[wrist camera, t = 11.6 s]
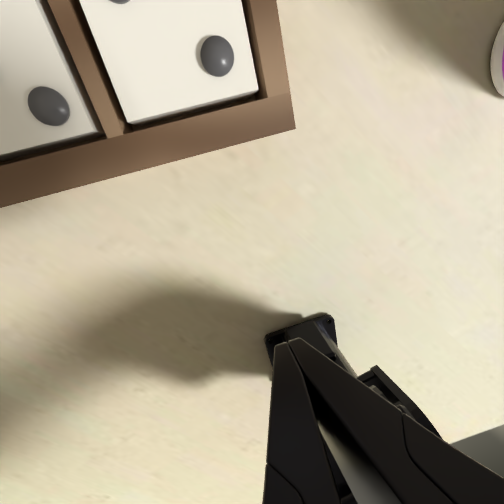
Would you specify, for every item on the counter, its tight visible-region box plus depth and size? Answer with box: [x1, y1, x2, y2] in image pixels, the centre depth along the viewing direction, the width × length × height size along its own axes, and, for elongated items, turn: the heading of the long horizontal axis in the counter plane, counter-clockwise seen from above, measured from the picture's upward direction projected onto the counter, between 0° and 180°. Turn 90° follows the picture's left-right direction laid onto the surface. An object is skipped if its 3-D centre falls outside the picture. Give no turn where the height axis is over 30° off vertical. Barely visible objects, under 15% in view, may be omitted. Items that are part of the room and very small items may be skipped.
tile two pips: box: [79, 0, 258, 127], centre depth 11 cm, size 6×6×3 cm
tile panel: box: [0, 0, 296, 208], centre depth 12 cm, size 10×24×4 cm, turn 103°
